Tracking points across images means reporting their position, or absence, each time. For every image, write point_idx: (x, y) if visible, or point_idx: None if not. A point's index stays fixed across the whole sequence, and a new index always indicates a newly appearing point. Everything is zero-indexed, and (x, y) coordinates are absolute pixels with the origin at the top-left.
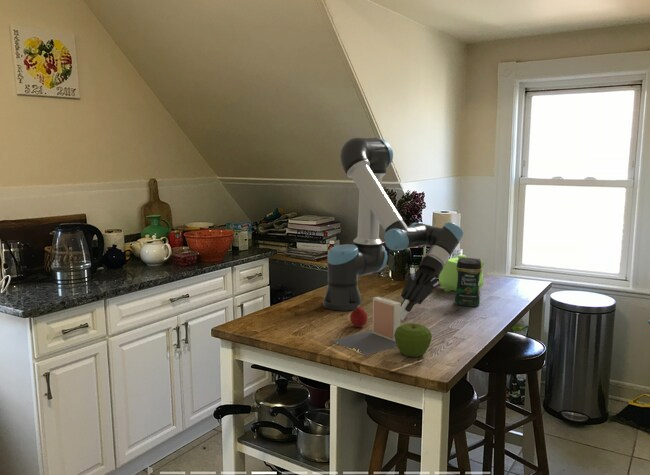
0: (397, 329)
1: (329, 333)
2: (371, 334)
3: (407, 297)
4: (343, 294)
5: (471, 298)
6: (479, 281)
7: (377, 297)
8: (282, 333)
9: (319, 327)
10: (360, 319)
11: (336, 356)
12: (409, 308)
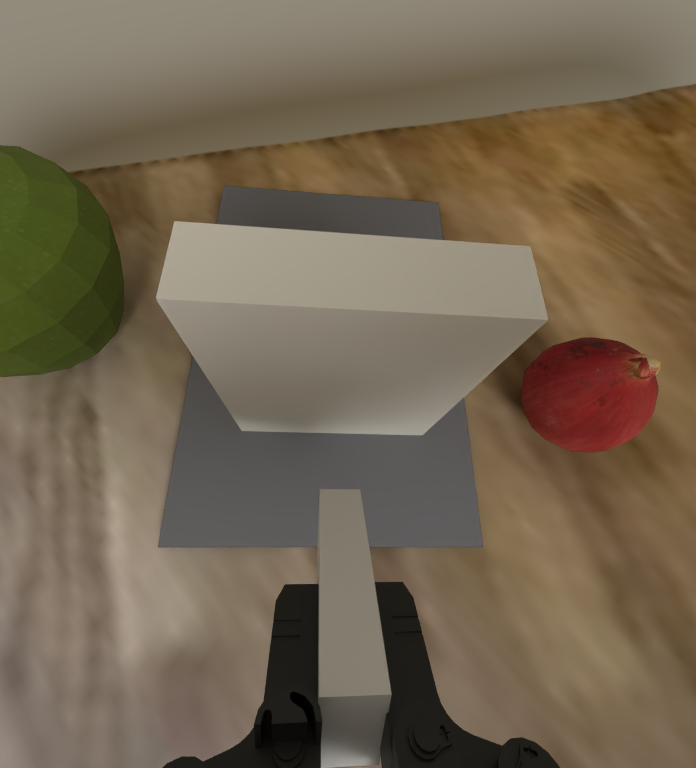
0: (46, 161)
1: (538, 273)
2: None
3: (396, 765)
4: None
5: None
6: None
7: (515, 282)
8: (614, 168)
9: (630, 292)
10: (535, 365)
11: (311, 149)
12: (275, 623)
